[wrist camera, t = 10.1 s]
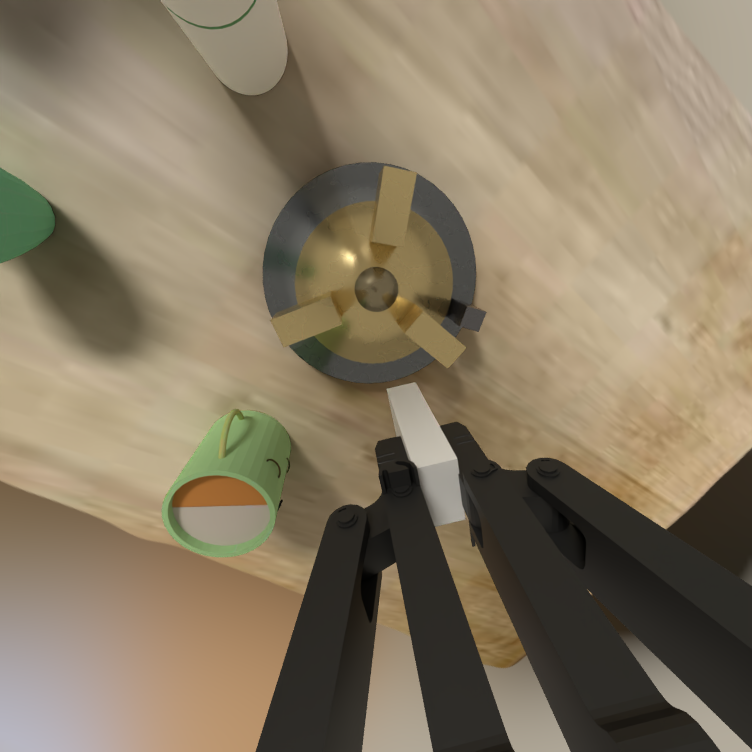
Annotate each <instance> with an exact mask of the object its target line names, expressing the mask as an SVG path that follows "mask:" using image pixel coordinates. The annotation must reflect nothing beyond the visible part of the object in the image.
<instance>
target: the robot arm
mask: <svg viewBox="0 0 752 752" xmlns="http://www.w3.org/2000/svg"><path fill="white" fill-rule="evenodd" d="M387 393H388V398H389V403H390V408H391V413H392V417H393V422H394V427H395V432H396V436H397V437H394V438H389V439H385V440H381V441H378V443H377V445H376V448H375V452H376V457H377V462H378V467H379V480H380V484H381V488H382V493H381V496H380V497H379V499H378V500H377V501H376V502H375V503H373V504H372V505H370V506H368V507H366V508H365V509H363V508H362V507H360V506H358V505H351V504H350V505H346V506H342V507H340V508H338V509H336V510H335V511H334V512H333V513H332V514H331V515H330V517H329V519H328V521H327V524H326V527H325V531H324V534H323V537H322V540H321V543H320V547H319V550H318V553H317V556H316V560H315V563H314V566H313V569H312V572H311V576H310V579H309V582H308V585H307V588H306V592H305V595H304V598H303V602H302V604H301V608H300V611H299V614H298V617H297V621H296V624H295V627H294V630H293V633H292V637H291V640H290V643H289V647H288V649H287V653H286V656H285V659H284V662H283V666H282V669H281V672H280V676H279V678H278V682H277V685H276V688H275V691H274V695H273V698H272V701H271V704H270V707H269V710H268V714H267V717H266V720H265V723H264V727H263V730H262V733H261V736H260V739H259V743H258V746H257V749H256V752H362V745H363V736H364V727H365V718H366V710H367V701H368V693H369V684H370V675H371V666H372V658H373V649H374V640H375V632H376V623H377V614H378V606H379V597H380V588H381V579H382V570H384V569H385V568H387V567H389V566H390V565H392V564H394V563H395V562H396V563H397V568H398V573H399V579H400V584H401V589H402V594H403V599H404V604H405V609H406V614H407V620H408V625H409V630H410V635H411V640H412V645H413V650H414V656H415V661H416V666H417V671H418V676H419V681H420V686H421V691H422V696H423V702H424V707H425V712H426V717H427V722H428V727H429V732H430V738H431V742H432V748H433V752H515V751H514V750H513V748H512V746H511V744H510V741H509V739H508V736H507V733H506V731H505V727H504V725H503V722H502V719H501V716H500V713H499V710H498V708H497V704H496V702H495V699H494V696H493V693H492V690H491V687H490V684H489V681H488V679H487V676H486V673H485V670H484V667H483V664H482V661H481V658H480V656H479V653H478V650H477V647H476V644H475V641H474V638H473V635H472V633H471V630H470V627H469V624H468V621H467V618H466V615H465V612H464V610H463V607H462V604H461V601H460V598H459V595H458V592H457V589H456V587H455V584H454V581H453V578H452V575H451V572H450V569H449V566H448V564H447V561H446V558H445V555H444V552H443V549H442V546H441V544H440V541H439V538H438V535H437V532H436V529H435V527H436V526H440V525H444V524H449V523H453V522H457V521H461V520H465V513H464V510H465V512H466V514H467V517H468V519H469V526H470V534H471V542H472V547H473V546H475V542H476V544H477V546H478V549H479V551H480V553H481V555H482V557H483V560H484V562H485V564H486V566H487V568H488V571H489V573H490V575H491V577H492V579H493V582H494V584H495V586H496V588H497V590H498V593H499V595H500V597H501V599H502V601H503V604H504V606H505V608H506V610H507V612H508V615H509V617H510V619H511V621H512V623H513V626H514V628H515V630H516V632H517V634H518V637H519V639H520V641H521V643H522V645H523V648H524V650H525V652H526V654H527V656H528V659H529V661H530V663H531V665H532V667H533V670H534V672H535V674H536V676H537V678H538V680H539V683H540V685H541V687H542V689H543V691H544V694H545V696H546V698H547V700H548V702H549V705H550V707H551V709H552V711H553V714H554V716H555V718H556V720H557V722H558V725H559V727H560V729H561V731H562V733H563V736H564V738H565V740H566V742H567V744H568V747H569V749H570V751H571V752H720V750H719V749H718V748H717V746H716V745H715V744H714V742H713V741H712V739H711V738H710V737H709V736H708V735H707V733H706V732H705V731H704V730H703V729H702V727H701V726H700V725H699V724H698V723H697V721H695V720H694V719H693V718H692V717H691V716H690V715H689V714H687V713H686V712H684V711H682V710H680V709H677V708H675V707H673V706H671V705H670V704H669V703H668V702H667V701H666V700H665V699H664V697H663V696H662V695H661V693H660V692H659V691H658V689H657V688H656V686H655V685H654V684H653V682H652V681H651V680H650V678H649V677H648V675H647V674H646V672H645V671H644V669H643V668H642V667H641V665H640V664H639V662H638V661H637V660H636V658H635V657H634V655H633V654H632V653H631V651H630V650H629V648H628V647H627V646H626V644H625V643H624V641H623V640H622V639H621V637H620V636H619V634H618V633H617V631H616V630H615V628H614V627H613V626H612V624H611V623H610V621H609V620H608V618H607V617H606V616H605V614H604V613H603V611H602V610H601V609H600V607H599V606H598V604H597V603H596V602H595V600H594V599H593V597H592V596H591V594H590V593H589V592H588V590H589V591H590V592H591V593H592V594H593V595H594V596H595V597H596V598H597V599H598V600H599V601H600V602H601V603H602V604H603V605H604V606H605V607H606V608H607V609H608V610H609V611H610V612H611V613H612V614H614V616H615V617H617V618H618V619H619V620H620V621H621V622H622V623H623V624H624V625H625V626H626V627H627V628H628V629H629V630H630V631H631V632H632V633H633V634H634V635H635V636H636V637H637V638H638V639H639V640H640V641H641V642H642V643H643V644H644V645H645V646H646V647H647V648H648V649H649V650H651V652H652V653H654V655H655V656H657V657H658V658H659V659H660V660H661V661H662V662H663V663H664V664H665V665H666V666H667V667H668V668H669V669H670V670H671V671H672V672H673V673H674V674H675V675H676V676H677V677H678V678H679V679H680V680H681V681H682V682H683V683H684V684H685V685H686V686H687V687H689V689H690V690H691V691H692V692H694V694H696V695H697V696H698V697H699V698H700V699H701V700H702V701H703V702H704V703H705V704H706V705H707V706H708V707H709V708H710V709H711V710H712V711H713V712H714V713H715V714H716V715H717V716H718V717H719V718H720V719H721V720H722V721H723V722H724V723H725V724H726V725H727V726H728V727H729V728H730V729H731V730H732V731H733V732H735V734H737V735H738V736H739V737H740V738H741V739H742V740H743V741H744V742H745V743H746V744H747V745H748V746H749V747H750V748H751V749H752V586H751V585H749V584H748V583H746V582H745V581H743V580H742V579H740V578H739V577H737V576H736V575H734V574H732V573H731V572H730V571H728V570H726V569H725V568H723V567H722V566H720V565H719V564H717V563H716V562H714V561H712V560H711V559H709V558H708V557H707V556H705V555H704V554H702V553H701V552H699V551H697V550H696V549H694V548H693V547H691V546H690V545H688V544H687V543H685V542H684V541H682V540H680V539H679V538H677V537H676V536H675V535H673V534H671V533H670V532H668V531H667V530H665V529H664V528H662V527H661V526H659V525H658V524H656V523H655V522H653V521H652V520H650V519H649V518H647V517H646V516H644V515H643V514H641V513H639V512H638V511H636V510H635V509H633V508H632V507H630V506H629V505H627V504H626V503H624V502H623V501H621V500H620V499H618V498H617V497H615V496H614V495H612V494H610V493H609V492H607V491H606V490H604V489H603V488H601V487H600V486H598V485H597V484H595V483H594V482H592V481H591V480H589V479H588V478H586V477H585V476H583V475H581V474H580V473H578V472H577V471H575V470H574V469H572V468H571V467H569V466H568V465H566V464H565V463H563V462H561V461H559V460H556V459H552V458H538V459H535V460H532V461H531V462H530V463H528V465H527V467H526V470H505V469H502V468H501V467H500V466H499V465H498V464H497V463H496V462H493V461H491V460H488V459H487V457H486V456H485V454H484V453H483V451H482V450H481V448H480V447H479V445H478V444H477V442H476V441H475V440H474V438H473V437H472V435H471V434H470V432H469V431H468V429H467V428H466V427H465V426H464V425H462V424H460V423H458V422H454V423H450V424H446V425H441V426H439V424H438V422H437V420H436V419H435V417H434V415H433V413H432V411H431V410H430V408H429V406H428V404H427V402H426V400H425V399H424V397H423V395H422V393H421V391H420V389H419V388H418V386H417V384H416V382H414V383H409V384H405V385H401V386H396V387H392V388H388V389H387ZM586 588H587V589H588V590H587V589H586Z"/></svg>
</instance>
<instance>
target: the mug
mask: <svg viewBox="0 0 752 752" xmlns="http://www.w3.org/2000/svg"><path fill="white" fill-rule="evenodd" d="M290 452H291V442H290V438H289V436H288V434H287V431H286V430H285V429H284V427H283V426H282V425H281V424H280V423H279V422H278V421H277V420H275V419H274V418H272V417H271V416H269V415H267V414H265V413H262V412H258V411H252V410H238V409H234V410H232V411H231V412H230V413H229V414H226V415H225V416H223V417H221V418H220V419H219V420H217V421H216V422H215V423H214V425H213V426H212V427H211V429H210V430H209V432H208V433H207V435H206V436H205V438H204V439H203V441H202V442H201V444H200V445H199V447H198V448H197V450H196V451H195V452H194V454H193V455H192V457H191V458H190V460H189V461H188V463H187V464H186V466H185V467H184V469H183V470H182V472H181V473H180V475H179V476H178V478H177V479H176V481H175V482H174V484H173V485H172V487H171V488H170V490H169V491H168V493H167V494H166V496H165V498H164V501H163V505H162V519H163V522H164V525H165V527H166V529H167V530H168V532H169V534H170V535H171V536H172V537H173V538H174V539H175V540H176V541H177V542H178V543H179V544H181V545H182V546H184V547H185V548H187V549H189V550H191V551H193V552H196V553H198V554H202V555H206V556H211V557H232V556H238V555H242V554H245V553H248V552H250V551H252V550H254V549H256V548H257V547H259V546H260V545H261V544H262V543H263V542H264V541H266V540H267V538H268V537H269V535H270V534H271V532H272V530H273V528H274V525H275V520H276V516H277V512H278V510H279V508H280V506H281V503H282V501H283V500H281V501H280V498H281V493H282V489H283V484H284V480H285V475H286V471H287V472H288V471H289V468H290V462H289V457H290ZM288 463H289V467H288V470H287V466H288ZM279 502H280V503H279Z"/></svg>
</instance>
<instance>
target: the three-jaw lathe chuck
mask: <svg viewBox="0 0 752 752" xmlns="http://www.w3.org/2000/svg"><path fill="white" fill-rule="evenodd" d="M416 175H417V173H416V172H412V171H407V170H402V169H398V168H393V167H388V166H383V168H382V170H381V171H380V173H379V177H378V184H377V191H376V197H375V201H365V202H359V203H354V204H351V205H348V206H345V207H343V208H341V209H339V210H337V211H335V212H334V213H332V214H331V215H329V216H328V217H326V218H325V219H324V220H323V221H322V222H321V223H320V224H319V225H318V226H317V227H316V228H315V229H314V230H313V232H312V233H311V234H310V236H309V237H308V239H307V241H306V242H305V244H304V246H303V248H302V251H301V253H300V256H299V259H298V262H297V267H296V273H295V292H296V299H297V303H298V304H297V305H294V306H292V307H289V308H287V309H284V310H282V311H279V312H277V313H276V314H275V315H274V316H273V318H272V319H271V322H272V324H273V327H274V329H275V331H276V333H277V335H278V337H279V339H280V341H281V343H282V345H283V347H286V346H289V345H291V344H294V343H296V342H299V341H301V340H304V339H307V338H309V337H312V336H315V337H316V339H317V340H318V341H319V342H320V343H321V344H323V345H324V346H325V347H326V348H327V349H329V350H331V351H332V352H334V353H335V354H337V355H339V356H341V357H343V358H346V359H349V360H352V361H356V362H361V363H372V364H374V363H385V362H390V361H394V360H397V359H400V358H403V357H405V356H407V355H409V354H411V353H413V352H414V351H416V350H418V349H419V348H420V347H422V348H423V349H424V350H425V351H426V352H428V353H429V354H430V355H431V356H433V357H434V358H435V359H436V360H438V361H439V362H440V363H441V364H442V365H444V366H445V367H446V368H447V369H448V368H449V367H450V366H451V365H452V364H453V362H454V361H455V360H456V359H457V358H458V357H459V356H460V355H461V354H462V352H463V351H464V350H465V349H466V347H465V346H464V345H463V344H462V343H460V342H459V341H458V340H457V339H456V338H455V337H453V336H452V335H451V334H450V333H449V332H448V331H446V330H445V329H444V328H443V327H442V326H441V323H442V322H443V320H444V318H445V316H446V313H447V311H448V308H449V305H450V301H451V296H452V290H453V274H452V266H451V262H450V258H449V255H448V252H447V249H446V247H445V245H444V243H443V241H442V239H441V238H440V236H439V235H438V233H437V232H436V230H435V229H434V228H433V227H432V226H431V225H430V224H429V223H428V222H427V221H426V220H425V219H424V218H422V217H421V216H420V215H418V214H417V213H415V212H414V211H412V210H410V208H411V203H412V197H413V192H414V186H415V181H416Z"/></svg>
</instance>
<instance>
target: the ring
mask: <svg viewBox="0 0 752 752" xmlns="http://www.w3.org/2000/svg"><path fill="white" fill-rule="evenodd" d="M383 166H388V167H393V168H398V169H402V170H407V169H405V168H401V167H398V166H395V165H391V164H384V163H376V162H373V163H356V164H350V165H344V166H341V167H338V168H335V169H332V170H329V171H328V172H326V173H324V174H322V175H320V176H318V177H316V178H314V179H313V180H312V181H310V182H309V183H307V184H306V185H304V186H303V187H302V188H301V189H300V190H299V191H298V192H297V193H296V194H295V195H294V196H293V197H292V198H291V199H290V200H289V201H288V203H287V204H286V205H285V207H284V208H283V209H282V211H281V212H280V214H279V216H278V217H277V219H276V221H275V223H274V225H273V227H272V230H271V232H270V235H269V237H268V241H267V245H266V249H265V253H264V261H263V286H264V293H265V298H266V302H267V306H268V309H269V312H270V314H271V317H272V318H273V316H274V315H275V314H276V313H277V312H279V311H282V310H284V309H287V308H289V307H292V306H294V305H297V304H298V303H297V299H296V292H295V273H296V267H297V262H298V259H299V256H300V253H301V251H302V248H303V246H304V244H305V242H306V241H307V239H308V237H309V236H310V234H311V233H312V232H313V230H314V229H315V228H316V227H317V226H318V225H319V224H320V223H321V222H322V221H323V220H324V219H325V218H326V217H328V216H329V215H331V214H332V213H334V212H335V211H337V210H339V209H341V208H343V207H345V206H348V205H351V204H354V203H359V202H365V201H375V197H376V191H377V184H378V177H379V173H380V171H381V170H382V168H383ZM407 171H410V170H407ZM410 210H412V211H414V212H415V213H417V214H418V215H420V216H421V217H422V218H424V219H425V220H426V221H427V222H428V223H429V224H430V225H431V226H432V227H433V228H434V229H435V230H436V232H437V233H438V235H439V236H440V238H441V239H442V241H443V243H444V245H445V247H446V249H447V252H448V255H449V258H450V262H451V266H452V274H453V290H452V296H451V301H450V305H449V308H448V311H447V313H446V316H445V318H444V320H443V322H442V323H441V326H442V327H443V328H444V329H445V330H446V331H448V332H449V333H450V334H451V335H452V336H453V337H456V336H457V334H458V333H459V331H460V329H461V328H462V327H464V328H467V329H471V330H474V331H477V332H479V330H480V327H481V325H482V322H483V320H484V317H485V315H486V311H483V310H481V309H479V308H477V307H475V306H473V305H471V304H472V300H473V295H474V290H475V281H476V263H475V255H474V249H473V244H472V241H471V238H470V235H469V232H468V229H467V227H466V225H465V223H464V221H463V219H462V217H461V215H460V214H459V212H458V211H457V209H456V207H455V206H454V204H453V203H452V202H451V201H450V200H449V199H448V198H447V196H446V195H445V194H444V193H443V192H442V191H441V190H439V189H438V188H437V187H436V186H435V185H434V184H433V183H431V182H430V181H428V180H426V179H425V178H423V177H422V176H420V175H418V174H417V175H416V181H415V186H414V192H413V197H412V203H411V208H410ZM289 346H290V348H291V349H292V350H293V351H294V352H295V353H296V354H297V355H298V356H299V357H301V358H302V359H303V360H304V361H306V362H307V363H308V364H309V365H311V366H313V367H314V368H316V369H318V370H319V371H321V372H323V373H325V374H328V375H330V376H332V377H335V378H338V379H342V380H345V381H351V382H356V383H381V382H387V381H392V380H396V379H399V378H402V377H406V376H408V375H410V374H412V373H415V372H417V371H419V370H420V369H422V368H424V367H425V366H427V365H428V364H430V363H431V362H432V361H434V360H435V358H434V357H433V356H431V355H430V354H429V353H428V352H426V351H425V350H424V349H423V348H422V347H420V348H419V349H418V350H416V351H414V352H413V353H411V354H409V355H407V356H405V357H403V358H400V359H397V360H394V361H390V362H385V363H374V364H372V363H361V362H356V361H352V360H349V359H346V358H343V357H341V356H339V355H337V354H335V353H334V352H332V351H331V350H329V349H327V348H326V347H325V346H324V345H323V344H321V343H320V342H319V341H318V340H317V339H316V337H315V336H312V337H309V338H307V339H304V340H301V341H299V342H296V343H294V344H291V345H289Z"/></svg>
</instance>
